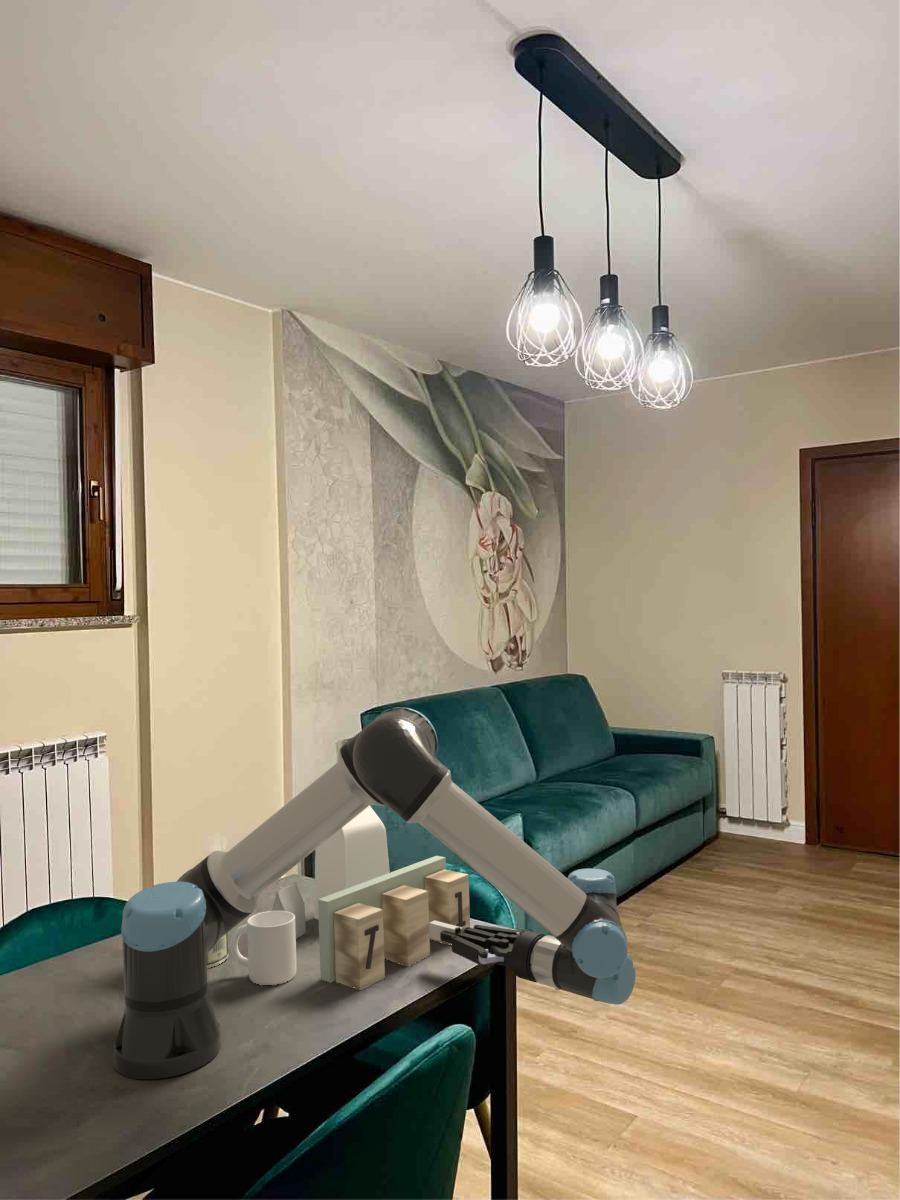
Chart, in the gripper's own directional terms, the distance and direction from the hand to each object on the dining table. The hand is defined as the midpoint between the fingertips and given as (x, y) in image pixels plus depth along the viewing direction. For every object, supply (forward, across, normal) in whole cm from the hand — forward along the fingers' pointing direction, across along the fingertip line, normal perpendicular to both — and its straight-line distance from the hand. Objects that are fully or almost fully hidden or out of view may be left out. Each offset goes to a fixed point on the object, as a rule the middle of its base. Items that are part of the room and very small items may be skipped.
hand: (432, 929), depth 162 cm
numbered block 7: (+6, -12, -6) cm, 15 cm away
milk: (+30, +10, -7) cm, 32 cm away
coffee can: (+37, -23, -7) cm, 44 cm away
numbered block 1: (+6, +12, -7) cm, 15 cm away
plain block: (+6, 0, -6) cm, 9 cm away
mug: (+22, -21, -7) cm, 31 cm away
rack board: (+11, 0, -6) cm, 13 cm away
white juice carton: (+32, -6, -7) cm, 34 cm away
